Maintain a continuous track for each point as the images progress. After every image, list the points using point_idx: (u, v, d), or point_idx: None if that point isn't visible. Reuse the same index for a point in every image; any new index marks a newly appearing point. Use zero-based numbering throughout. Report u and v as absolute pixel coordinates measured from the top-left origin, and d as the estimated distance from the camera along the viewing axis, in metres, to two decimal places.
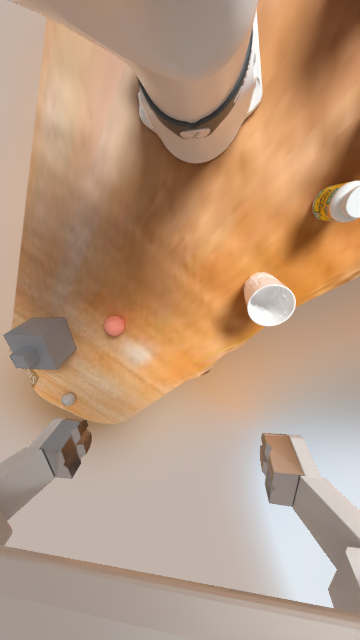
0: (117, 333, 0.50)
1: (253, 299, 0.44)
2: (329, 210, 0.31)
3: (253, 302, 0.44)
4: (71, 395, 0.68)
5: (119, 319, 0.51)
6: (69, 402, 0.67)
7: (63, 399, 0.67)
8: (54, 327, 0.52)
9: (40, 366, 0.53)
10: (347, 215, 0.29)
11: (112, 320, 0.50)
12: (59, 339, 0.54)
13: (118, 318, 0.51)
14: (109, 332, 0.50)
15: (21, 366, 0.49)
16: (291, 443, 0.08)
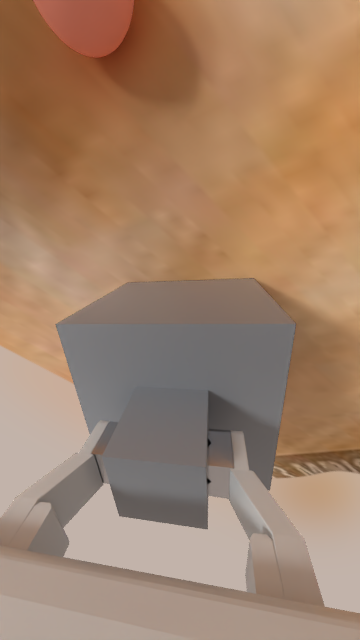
0: None
1: None
2: None
3: None
4: None
5: None
6: None
7: None
8: (108, 297, 0.13)
9: (258, 410, 0.10)
10: None
11: None
12: (162, 296, 0.13)
13: None
14: None
15: (192, 500, 0.07)
16: (230, 438, 0.08)
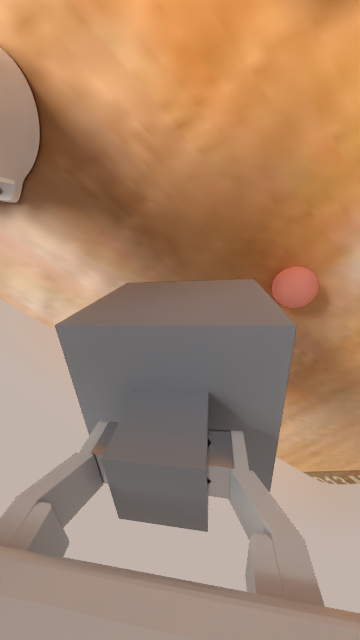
0: (311, 279, 0.23)
1: None
2: None
3: None
4: None
5: (280, 273, 0.25)
6: None
7: None
8: (107, 297, 0.13)
9: (258, 411, 0.10)
10: None
11: (277, 286, 0.25)
12: (162, 296, 0.13)
13: (277, 275, 0.25)
14: (305, 295, 0.23)
15: (192, 503, 0.07)
16: (230, 438, 0.08)
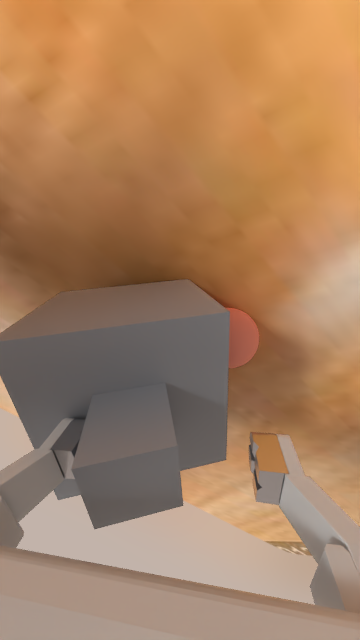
0: (249, 331, 0.15)
1: None
2: None
3: None
4: None
5: None
6: None
7: None
8: (43, 308, 0.12)
9: (209, 390, 0.11)
10: None
11: None
12: (105, 301, 0.13)
13: None
14: (242, 355, 0.15)
15: (167, 482, 0.08)
16: (278, 442, 0.08)
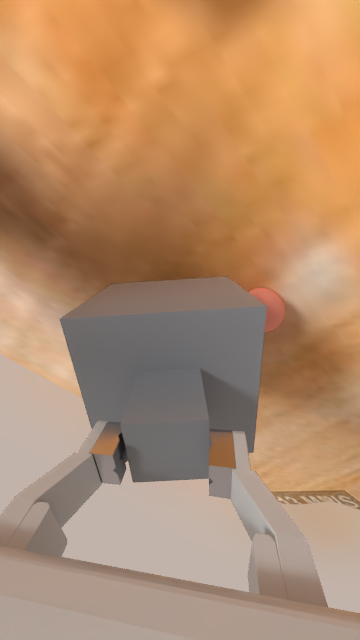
0: None
1: None
2: None
3: None
4: None
5: (269, 298, 0.21)
6: None
7: None
8: (99, 295, 0.14)
9: (241, 380, 0.12)
10: None
11: (281, 309, 0.21)
12: (151, 292, 0.14)
13: (269, 301, 0.21)
14: None
15: (197, 452, 0.09)
16: (232, 438, 0.08)
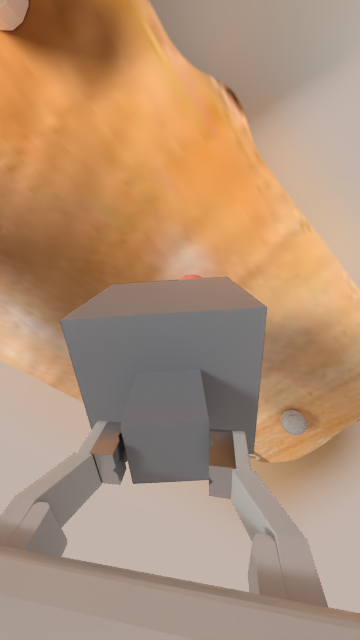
0: None
1: None
2: None
3: None
4: (285, 414, 0.37)
5: None
6: (296, 422, 0.35)
7: (287, 429, 0.36)
8: (99, 296, 0.14)
9: (241, 382, 0.12)
10: None
11: None
12: (151, 293, 0.14)
13: None
14: None
15: (197, 454, 0.09)
16: (232, 438, 0.08)
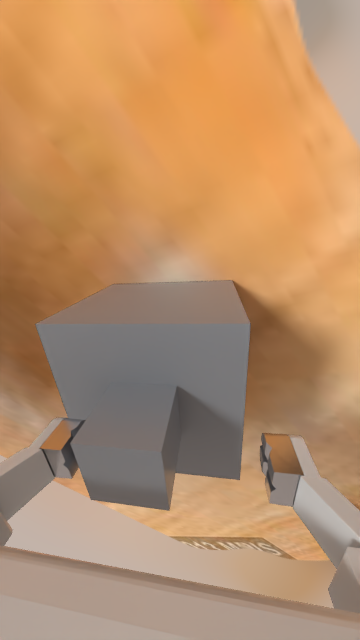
0: None
1: None
2: None
3: None
4: None
5: None
6: None
7: None
8: (90, 298, 0.14)
9: (223, 403, 0.10)
10: None
11: None
12: (140, 297, 0.14)
13: None
14: None
15: (153, 483, 0.08)
16: (291, 443, 0.08)
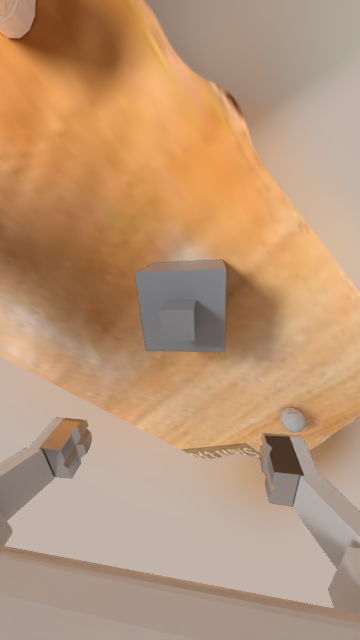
0: None
1: None
2: None
3: None
4: (284, 412, 0.37)
5: None
6: (295, 420, 0.35)
7: (286, 427, 0.36)
8: (148, 266, 0.28)
9: (216, 307, 0.24)
10: None
11: None
12: (175, 265, 0.27)
13: None
14: None
15: (189, 326, 0.21)
16: (291, 443, 0.08)
